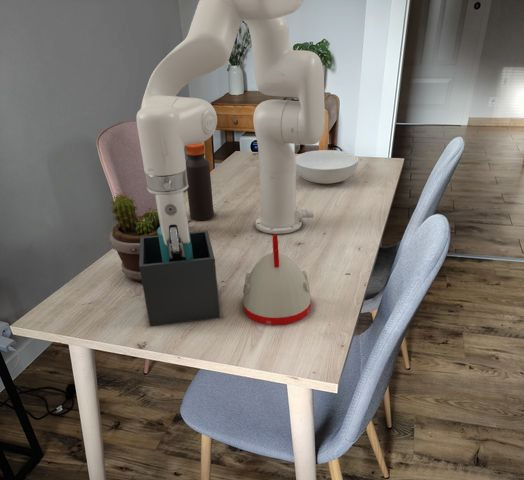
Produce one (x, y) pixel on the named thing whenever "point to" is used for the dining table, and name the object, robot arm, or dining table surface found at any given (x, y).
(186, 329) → the dining table surface
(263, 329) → the dining table surface
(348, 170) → the serving bowl
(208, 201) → the vinegar
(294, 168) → the robot arm
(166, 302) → the waste bin
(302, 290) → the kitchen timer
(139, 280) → the flowerpot
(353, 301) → the dining table surface
